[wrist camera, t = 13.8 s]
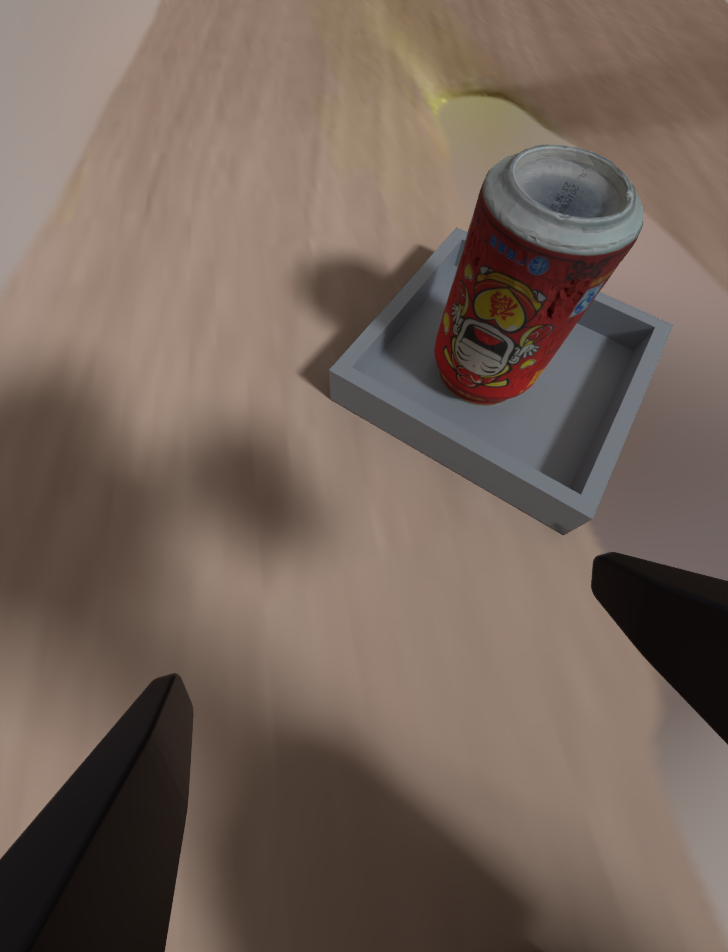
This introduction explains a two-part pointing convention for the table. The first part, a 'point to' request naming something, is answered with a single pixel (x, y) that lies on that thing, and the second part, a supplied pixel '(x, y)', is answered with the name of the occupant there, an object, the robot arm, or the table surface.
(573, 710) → the table surface
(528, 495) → the slate tray
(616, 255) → the soda can
